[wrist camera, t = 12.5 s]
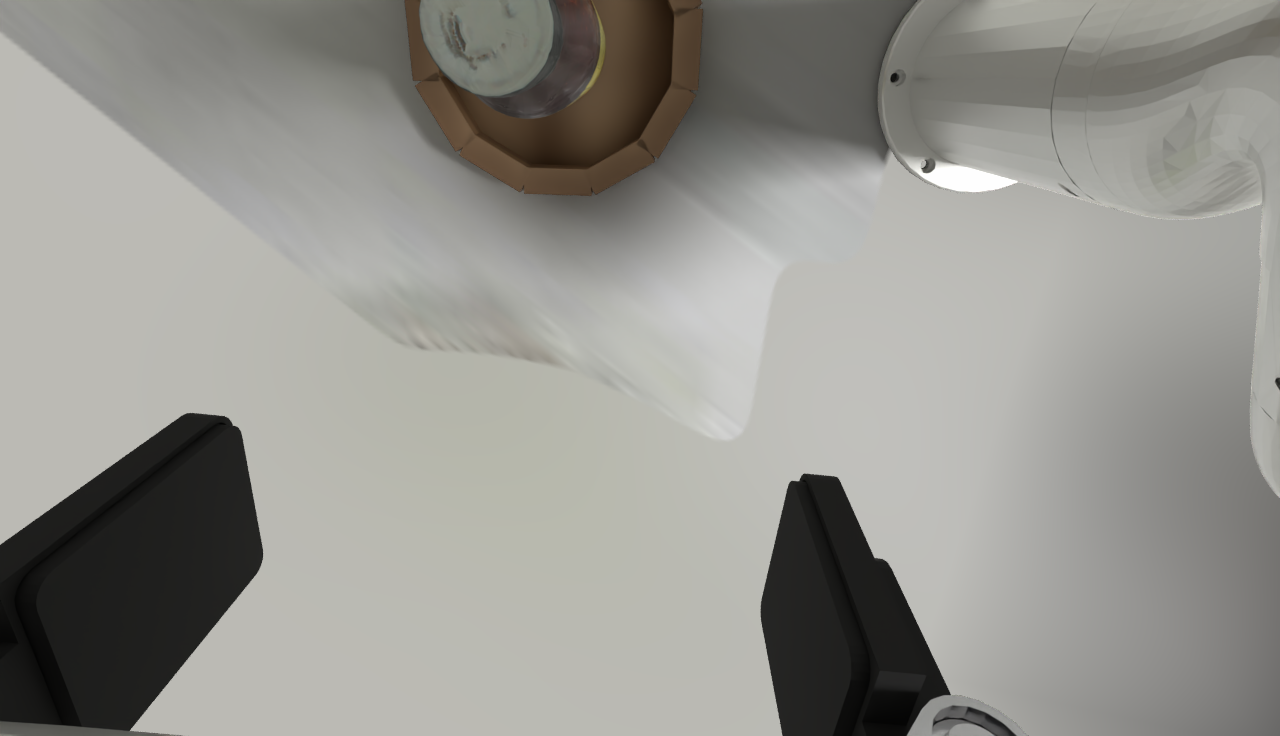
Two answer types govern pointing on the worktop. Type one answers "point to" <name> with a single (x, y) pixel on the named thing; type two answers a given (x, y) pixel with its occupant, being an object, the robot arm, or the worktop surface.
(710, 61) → the worktop surface
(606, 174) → the walnut bowl
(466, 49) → the sauce bottle
